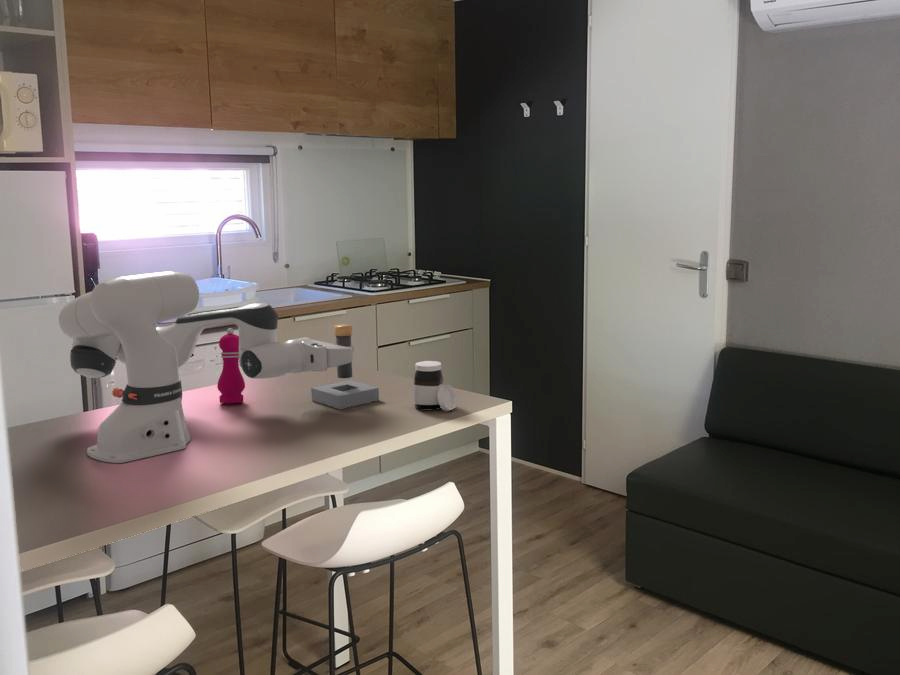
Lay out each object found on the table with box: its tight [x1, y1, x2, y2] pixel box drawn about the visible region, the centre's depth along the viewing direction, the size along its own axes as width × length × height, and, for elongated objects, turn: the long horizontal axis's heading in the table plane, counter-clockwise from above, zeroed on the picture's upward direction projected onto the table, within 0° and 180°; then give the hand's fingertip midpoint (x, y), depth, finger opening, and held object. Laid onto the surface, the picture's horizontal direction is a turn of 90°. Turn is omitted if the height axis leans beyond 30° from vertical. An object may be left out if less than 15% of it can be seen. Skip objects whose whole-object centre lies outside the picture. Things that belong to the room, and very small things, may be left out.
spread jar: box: [413, 360, 458, 412], centre depth 220 cm, size 12×11×12 cm
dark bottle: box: [333, 323, 353, 379], centre depth 228 cm, size 5×5×14 cm
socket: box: [310, 379, 380, 410], centre depth 230 cm, size 13×13×4 cm
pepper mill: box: [216, 327, 246, 404], centre depth 228 cm, size 7×7×20 cm
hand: (346, 347), depth 228 cm, fingers closed on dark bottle, 4 cm apart
